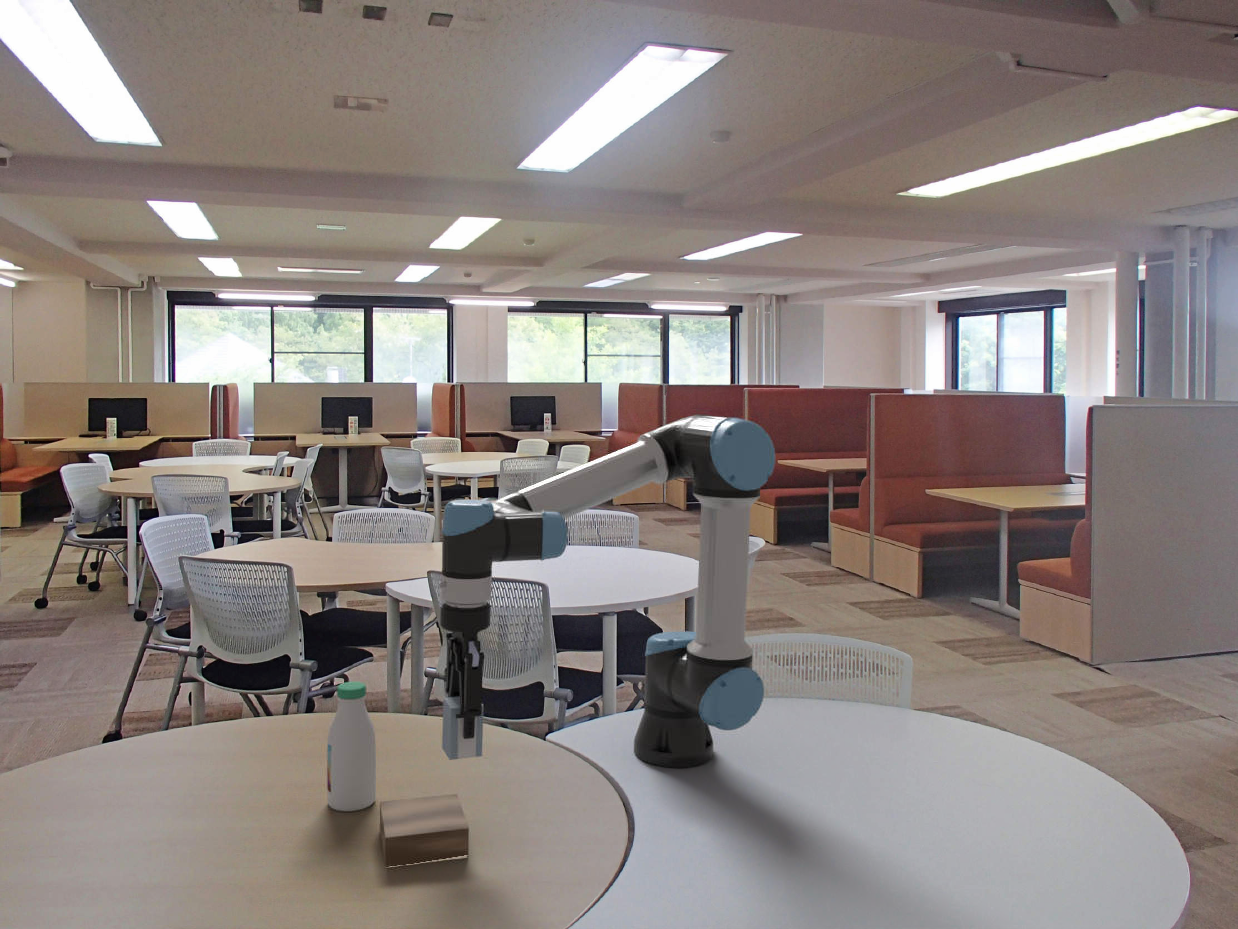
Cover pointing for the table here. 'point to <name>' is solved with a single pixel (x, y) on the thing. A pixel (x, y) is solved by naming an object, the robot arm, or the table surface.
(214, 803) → the table surface
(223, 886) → the table surface
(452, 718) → the block
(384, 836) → the walnut box
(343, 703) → the milk bottle
